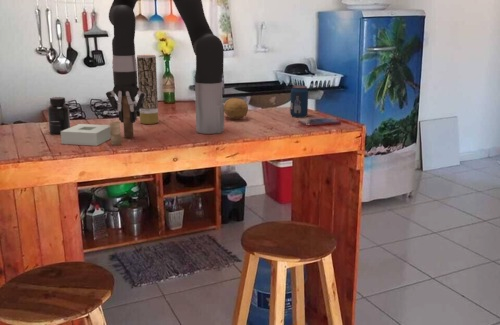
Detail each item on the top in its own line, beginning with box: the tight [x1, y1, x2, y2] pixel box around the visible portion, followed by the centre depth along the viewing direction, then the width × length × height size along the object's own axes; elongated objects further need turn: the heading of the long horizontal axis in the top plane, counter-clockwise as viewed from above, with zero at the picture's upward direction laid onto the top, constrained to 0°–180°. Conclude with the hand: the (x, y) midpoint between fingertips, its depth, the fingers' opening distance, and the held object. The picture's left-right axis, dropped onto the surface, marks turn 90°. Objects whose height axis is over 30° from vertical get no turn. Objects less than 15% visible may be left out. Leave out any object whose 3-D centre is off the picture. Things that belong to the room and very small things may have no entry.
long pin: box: [122, 96, 135, 139], centre depth 173 cm, size 3×3×14 cm
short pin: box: [109, 121, 122, 146], centre depth 165 cm, size 3×3×7 cm
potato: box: [223, 97, 249, 120], centre depth 206 cm, size 10×14×8 cm
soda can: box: [289, 85, 309, 119], centre depth 211 cm, size 7×7×12 cm
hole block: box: [60, 123, 111, 147], centre depth 170 cm, size 12×12×4 cm
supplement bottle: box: [47, 96, 71, 135], centre depth 180 cm, size 7×7×12 cm
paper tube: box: [136, 54, 159, 125], centre depth 195 cm, size 7×7×25 cm
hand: (128, 122), depth 174 cm, fingers closed on long pin, 3 cm apart
